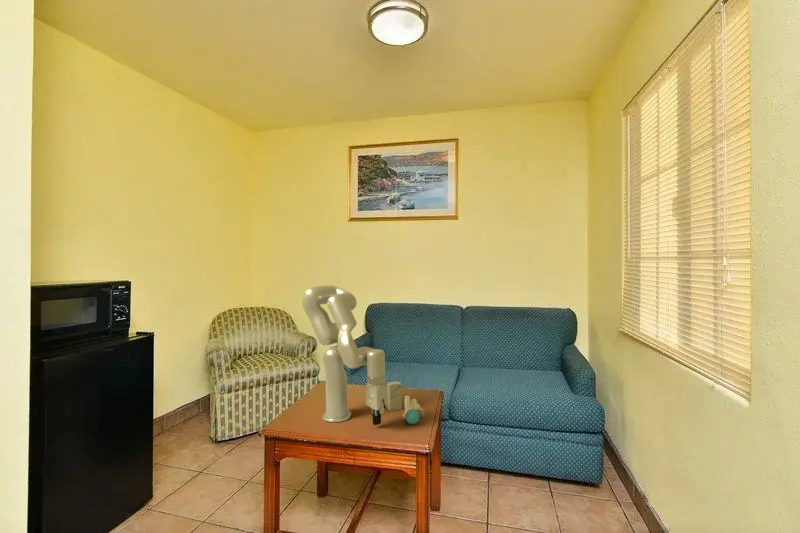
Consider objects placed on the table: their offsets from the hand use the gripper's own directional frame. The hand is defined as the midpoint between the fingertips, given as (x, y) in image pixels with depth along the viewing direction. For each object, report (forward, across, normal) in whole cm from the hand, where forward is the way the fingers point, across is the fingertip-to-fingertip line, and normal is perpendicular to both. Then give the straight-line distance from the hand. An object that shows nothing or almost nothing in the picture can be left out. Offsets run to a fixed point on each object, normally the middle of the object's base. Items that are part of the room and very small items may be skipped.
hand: (376, 423), depth 154 cm
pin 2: (+2, +2, +17) cm, 18 cm away
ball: (-2, +6, +14) cm, 15 cm away
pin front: (0, 0, +14) cm, 14 cm away
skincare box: (+2, -13, +17) cm, 21 cm away
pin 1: (+2, -2, +17) cm, 18 cm away
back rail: (+2, -3, +22) cm, 22 cm away
